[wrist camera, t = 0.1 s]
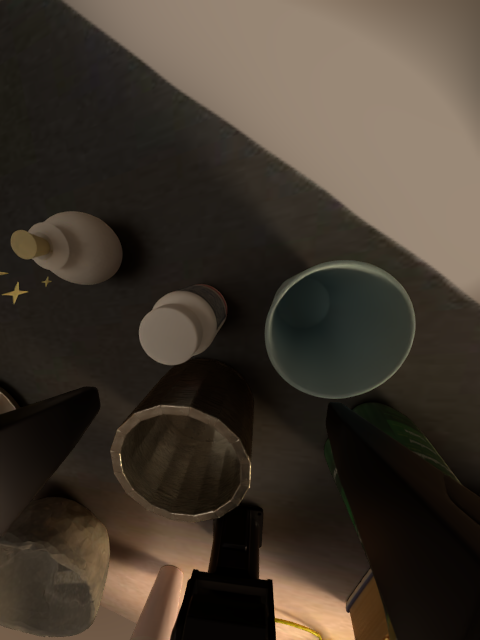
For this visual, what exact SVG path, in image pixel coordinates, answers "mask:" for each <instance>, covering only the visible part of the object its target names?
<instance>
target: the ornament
mask: <svg viewBox="0 0 480 640" xmlns="http://www.w3.org/2000/svg"><path fill="white" fill-rule="evenodd" d="M11 246H12V248H13V250H14V252H15V253H16V254H17V255H18V256H19V257H21V258H23V259H31V258H32V259H33V260H34V261H35V262H36V263H37V264H38V265H39V266H41V267H43V268H45V269H48V270H51V271H52V272H53V273H54V274H56V275H57V276H59V277H60V278H62V279H64V280H66V281H69V282H72V283H76V284H82V285H92V284H98V283H101V282H104V281H106V280H108V279H110V278H111V277H112V276H113V275H114V274H115V273H116V272H117V271H118V269H119V267H120V265H121V262H122V255H123V254H122V247H121V243H120V241H119V239H118V237H117V235H116V234H115V233H114V231H113V230H112V229H111V228H110V227H109V226H108V225H107V224H106V223H105V222H103V221H102V220H100V219H98V218H97V217H94V216H92V215H90V214H87V213H82V212H76V211H68V212H61V213H58V214H55V215H53V216H51V217H50V218H48V219H47V220H46V221H45V222H43V223H37V224H35V225H33V226H32V227H31V228H30V230H29V231H28V232H26V231H24V230H18V231H16V232H14V233H13V235H12V237H11ZM3 274H8V273H5V272H0V275H3ZM43 282H44V283H45V287H46V286H47V284H48V282H52V281H48V277H47V279H46V281H43ZM26 292H29V291H19V282H17V284H16V287H15V289H14V291H12V292H9V293H5V294H1V295H13V304H14V303H15V301H16V299H17V296H18V295H19V294H23V293H26Z"/></svg>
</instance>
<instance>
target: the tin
mask: <svg viewBox="0 0 480 640" xmlns="http://www.w3.org/2000/svg"><path fill="white" fill-rule="evenodd" d="M253 413H254V400H253V395H252V392H251V389H250V387H249V385H248V383H247V382H246V381H245V379H244V378H243V377H242V376H241V375H240V373H238V372H237V371H236V370H235V369H233V368H232V367H230V366H229V365H227V364H225V363H223V362H220V361H217V360H213V359H208V358H195V359H189V360H187V361H185V362H183V363H181V364H178V365H175V366H174V367H173V368H171V369H170V370H169V371H168V372H167V373H166V374H165V375H164V376H163V377H162V378H161V379H160V380H159V382H158V383H157V384H156V385H155V386H154V387H153V389H152V390H151V391H150V392H149V393H148V394H147V395H146V397H145V398H144V399H143V400H142V401H141V402H140V403H139V405H138V406H137V407H136V408H135V409H134V410H133V412H132V413H131V414H130V415H129V416H128V417H127V418H126V420H125V421H124V422H123V423H122V424H121V425H120V426H119V428H118V429H117V431H116V434H115V437H114V440H113V443H112V446H111V449H110V450H111V451H110V452H111V459H112V465H113V471H114V474H115V476H116V478H117V479H118V481H119V482H120V484H121V486H122V487H123V489H124V490H125V492H126V493H127V494H128V495H129V496H130V497H132V498H133V499H134V500H135V501H136V502H138V503H139V504H140V505H141V506H143V507H144V508H145V509H146V510H148V511H151V512H153V513H155V514H158V515H160V516H163V517H165V518H167V519H170V520H177V521H186V522H194V523H195V522H201V521H206V520H210V519H215V518H219V517H221V516H223V515H224V514H226V513H227V512H229V511H231V510H232V509H234V508H235V507H237V506H238V505H239V504H240V502H241V500H242V499H243V497H244V495H245V494H246V492H247V490H248V488H249V487H250V480H251V458H252V436H253Z"/></svg>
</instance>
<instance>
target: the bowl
mask: <svg viewBox="0 0 480 640" xmlns="http://www.w3.org/2000/svg"><path fill="white" fill-rule="evenodd" d="M109 558H110V547H109V537H108V533H107V529H106V528H105V526H104V525H103V524H102V523H101V522H100V521H99V520H98V519H97V518H96V517H95V516H94V514H93V513H92V512H91V511H90V510H88V509H86V508H85V507H84V506H82V505H81V504H79V503H77V502H76V501H73V500H69V499H65V498H62V497H48V498H43V499H39V500H34V501H31V502H30V503H29V504H28V505H27V507H26V508H25V509H24V510H23V512H22V513H21V514H20V515H19V517H18V518H17V519H16V520H15V522H14V523H13V524H12V525H11V527H10V528H9V529H8V530H7V531H6V533H5V534H4V535H3V536H2V538H1V539H0V625H1V626H3V627H6V628H10V629H14V630H19V631H22V632H25V633H29V634H33V635H37V636H43V637H45V636H48V637H64V636H73V635H76V634H79V633H81V632H83V631H85V630H86V629H88V628H89V627H90V626H91V625H92V624H93V621H94V619H95V617H96V615H97V612H98V608H99V605H100V601H101V597H102V594H103V590H104V586H105V582H106V578H107V574H108V567H109Z"/></svg>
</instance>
